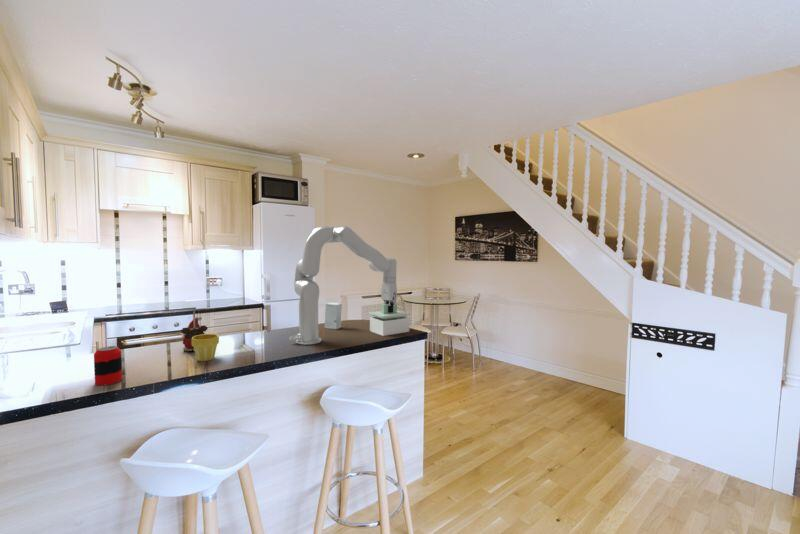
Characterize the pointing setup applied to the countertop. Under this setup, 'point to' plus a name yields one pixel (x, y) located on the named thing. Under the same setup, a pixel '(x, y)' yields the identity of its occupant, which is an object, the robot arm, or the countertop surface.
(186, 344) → the dark red figurine
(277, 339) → the countertop surface
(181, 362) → the countertop surface
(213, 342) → the plant pot
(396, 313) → the lid
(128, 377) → the countertop surface
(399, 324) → the tub
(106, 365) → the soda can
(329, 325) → the skincare box
